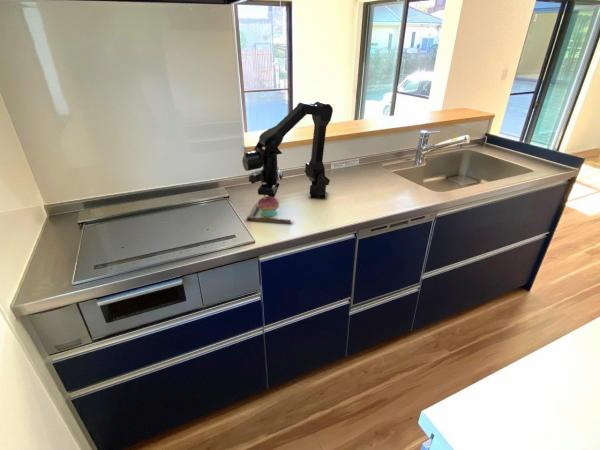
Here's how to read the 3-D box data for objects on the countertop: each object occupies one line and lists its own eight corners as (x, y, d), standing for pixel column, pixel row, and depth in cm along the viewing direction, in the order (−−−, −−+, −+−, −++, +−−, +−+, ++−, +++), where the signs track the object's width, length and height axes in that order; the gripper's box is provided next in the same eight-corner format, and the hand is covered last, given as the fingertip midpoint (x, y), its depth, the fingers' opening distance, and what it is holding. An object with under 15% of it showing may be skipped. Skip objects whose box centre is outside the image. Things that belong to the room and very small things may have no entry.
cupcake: (262, 220, 133) (261, 192, 127) (254, 211, 140) (252, 184, 134) (282, 215, 137) (282, 188, 131) (274, 207, 143) (273, 180, 137)
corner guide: (295, 208, 142) (295, 205, 142) (290, 224, 131) (290, 220, 130) (255, 205, 144) (255, 202, 144) (247, 220, 133) (246, 217, 133)
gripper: (256, 156, 143) (258, 190, 151) (243, 173, 127) (246, 210, 135) (282, 158, 142) (283, 192, 150) (272, 175, 126) (274, 212, 134)
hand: (271, 201), depth 142 cm, fingers closed
